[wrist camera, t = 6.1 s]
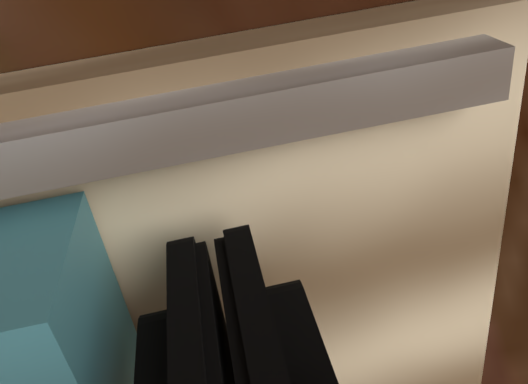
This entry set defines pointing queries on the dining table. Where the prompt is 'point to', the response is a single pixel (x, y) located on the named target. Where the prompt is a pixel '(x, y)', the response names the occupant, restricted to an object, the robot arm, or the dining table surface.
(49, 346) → the sliding block
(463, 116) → the board
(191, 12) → the dining table surface
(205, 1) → the dining table surface
